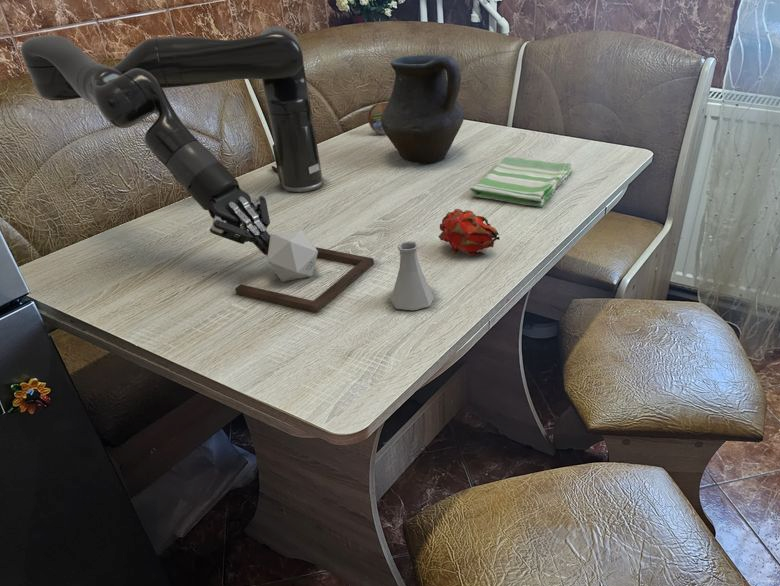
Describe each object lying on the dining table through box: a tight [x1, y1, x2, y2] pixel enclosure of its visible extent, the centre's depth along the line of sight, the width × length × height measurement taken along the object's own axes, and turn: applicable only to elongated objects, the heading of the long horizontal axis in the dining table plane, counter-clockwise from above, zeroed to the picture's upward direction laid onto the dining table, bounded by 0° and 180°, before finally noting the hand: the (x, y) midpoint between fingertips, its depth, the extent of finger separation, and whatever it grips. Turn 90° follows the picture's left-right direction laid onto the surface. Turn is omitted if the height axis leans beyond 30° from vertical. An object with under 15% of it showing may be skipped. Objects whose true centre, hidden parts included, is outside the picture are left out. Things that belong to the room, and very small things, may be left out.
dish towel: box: [469, 157, 573, 208], centre depth 144 cm, size 18×23×3 cm
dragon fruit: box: [438, 208, 501, 257], centre depth 116 cm, size 8×8×12 cm
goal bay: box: [234, 246, 375, 314], centre depth 111 cm, size 16×18×1 cm
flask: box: [390, 240, 435, 311], centre depth 101 cm, size 7×7×10 cm
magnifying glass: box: [367, 101, 388, 136], centre depth 178 cm, size 15×3×8 cm, turn 117°
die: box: [266, 227, 318, 283], centre depth 110 cm, size 8×9×10 cm
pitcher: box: [381, 54, 465, 164], centre depth 154 cm, size 21×22×25 cm
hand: (274, 253), depth 110 cm, fingers closed
